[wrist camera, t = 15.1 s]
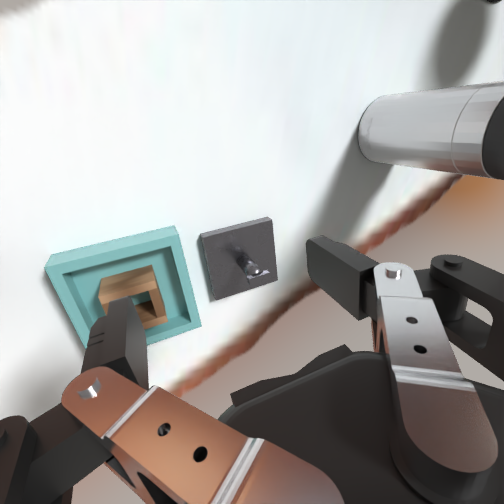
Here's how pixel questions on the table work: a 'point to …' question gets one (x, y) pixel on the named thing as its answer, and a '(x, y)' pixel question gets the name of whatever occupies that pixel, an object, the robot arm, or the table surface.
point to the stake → (240, 257)
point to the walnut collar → (135, 284)
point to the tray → (118, 261)
